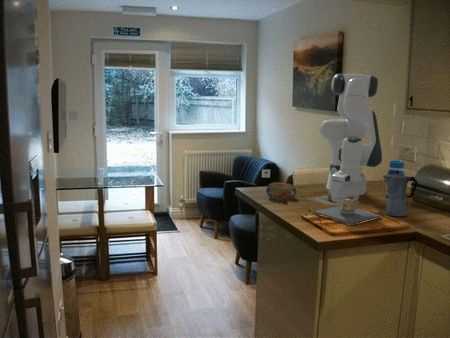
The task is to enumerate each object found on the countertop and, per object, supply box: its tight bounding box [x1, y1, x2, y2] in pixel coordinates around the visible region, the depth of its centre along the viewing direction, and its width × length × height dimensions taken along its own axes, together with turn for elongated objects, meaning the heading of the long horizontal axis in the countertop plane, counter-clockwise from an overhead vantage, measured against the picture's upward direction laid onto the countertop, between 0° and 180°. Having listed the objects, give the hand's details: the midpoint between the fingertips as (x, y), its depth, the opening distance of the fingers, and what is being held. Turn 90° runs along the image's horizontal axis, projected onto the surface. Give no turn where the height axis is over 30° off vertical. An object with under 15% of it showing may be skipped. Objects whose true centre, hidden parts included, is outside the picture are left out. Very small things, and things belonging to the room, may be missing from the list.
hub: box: [313, 198, 382, 226], centre depth 191 cm, size 20×20×8 cm
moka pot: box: [382, 170, 419, 217], centre depth 195 cm, size 10×15×20 cm, turn 51°
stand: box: [307, 190, 338, 207], centre depth 214 cm, size 16×16×6 cm
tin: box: [265, 182, 297, 202], centre depth 219 cm, size 15×3×8 cm, turn 62°
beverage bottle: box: [384, 160, 406, 201], centre depth 223 cm, size 8×8×20 cm
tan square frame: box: [336, 197, 360, 210], centre depth 191 cm, size 7×7×3 cm
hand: (347, 206), depth 191 cm, fingers closed on tan square frame, 7 cm apart
